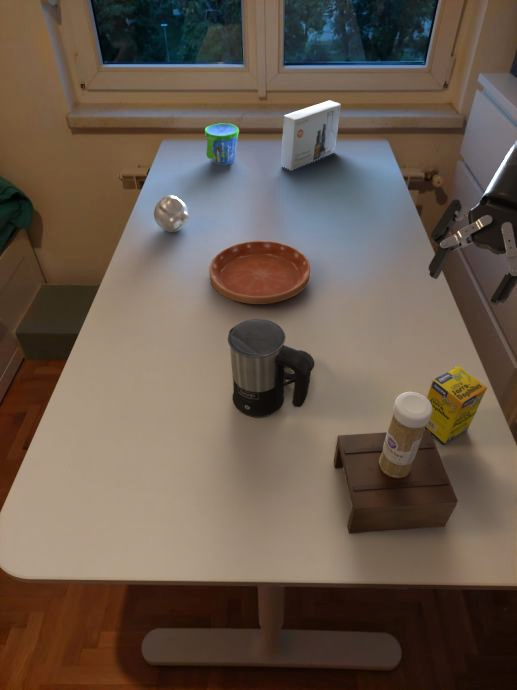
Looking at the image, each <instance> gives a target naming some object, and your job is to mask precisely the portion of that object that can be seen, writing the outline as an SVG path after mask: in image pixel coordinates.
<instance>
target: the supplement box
mask: <svg viewBox="0 0 517 690" xmlns="http://www.w3.org/2000/svg"><path fill="white" fill-rule="evenodd" d="M487 389H488V387H487V386H486V385H485V384H483V383H482V382H481V381H480V380H478V379H477V378H475V377H474V376H473V375H471V374H470V373H469V372H468V371H466V370H465V369H464V368H462V367H461V366H460V365H456V366H455V367H453V368H452V369H450V370H449V371H446V372H445V373H442V374H441V375H439V376H437V377H435V378H434V379H432V382H431V384H430V388H429V390H428V393H427V396H426V398H427V399H428V400H429V401H430V403H431V405H432V414H431V417H430V420H429V422H428V423H427V424H426V426H425V429H424V430H430V432H431V435H432V437H433V439H434V440H436V441H437V442H439V444H441V446H442V447H443V446H444V447H445V446H446V445H448V444H450V443H451V441H453V440H455V439H457V438H458V437H459V436H461V435H463V434H464V433H466V432H467V431H469V428H470V426H471V424H472V422H473V419H474V418H475V415H476V413H477V411H478V409H479V406H480V404H481V403H482V399H483V398H484V395H485V393H486V391H487Z"/></svg>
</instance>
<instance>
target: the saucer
mask: <svg viewBox="0 0 517 690" xmlns="http://www.w3.org/2000/svg"><path fill="white" fill-rule="evenodd" d="M208 268H209V269H208V273H209V280H210V283H211V284H212V286H213V288H214V290H216V291H217V292H218V293H219V294H221V295H222V296H223V297H225V298H228V299H229V300H232V301H235V302H239V303H243V304H249V305H251V304H252V305H267V304H274V303H279V302H282V301H286V300H288V299H291V298H293V297H294V296H296V295H298V294H299V293H300V292H302V291H303V290H304V289H305V288H306V286H307V285H308V283H309V281H310V276H311V264H310V261H309V259H308V258H307V257H306V255H305V254H304V253H303V252H301V251H300V250H298V249H297V248H295V247H293V246H291V245H288V244H285V243H281V242H277V241H271V240H254V241H253V240H252V241H246V242H241V243H237V244H234V245H231V246H228V247H226V248H224V249H223V250H221V251H220V252H219V253H217V254H216V255H215V256H214V257H213V259H212V260H211V261H210V264H209V267H208Z"/></svg>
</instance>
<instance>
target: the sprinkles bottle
mask: <svg viewBox="0 0 517 690" xmlns="http://www.w3.org/2000/svg"><path fill="white" fill-rule="evenodd" d="M431 414H432V405H431V403H430V401H429V400H428V399H427V396H425V395H423V394H422V393H418V392H415V391H405V392H402V393H400V394H398V395H397V397H396V399H395V401H394V404H393V407H392V416H391V419H390V423H389V426H388V431H387V435H386V438H385V442H384V445H383V451H382V454H381V456H380V458H379V465H380V468H381V470H382V471H383V472H384V473H385V474H386V475H388V476H390V477H393V478H402V477H405V476H407V475H408V474H409V473H410V471H411V465H412V463H413V460H414V458H415V456H416V453H417V450H418V447H419V444H420V442H421V439H422V436H423V432H424V430H425V426H426V424H427V423H428V422H429V420H430V417H431Z"/></svg>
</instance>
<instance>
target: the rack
mask: <svg viewBox="0 0 517 690" xmlns="http://www.w3.org/2000/svg"><path fill="white" fill-rule="evenodd" d="M387 432H388V431H387ZM387 432H386V431H385V432H370V433H369V432H368V433H351V434H340V435H339V434H338V435H337V439H336V444H335V451H334V455H333V456H334V457H333V466H334V469H343V473H344V477H345V481H346V485H347V490H348V494H349V499H350V503H351V508H350V512H349V516H348V521H347V525H346V527H347V532H348V534H349V535H350V534H362V533H364V534H365V533H377V532H378V533H379V532H390V531H404V530H405V531H406V530H416V529H417V530H419V529H431V528H432V529H433V528H445V527H447V525H448V522H449V521H450V518H451V517H452V515H453V512H454V511H455V508H456V507H457V505H458V503H459V500H458V498H457V495H456V492H455V490H454V488H453V486H452V482H451V481H450V478H449V474H448V472H447V470H446V467H445V465H444V462H443V460H442V457H441V455H440V452H439V450H438V447H437V445H436V442H435V439H434V437H433V436H432V435H431V432H430V430H425V429H424V432H423V436H422V439H421V442H420V444H419V447H418V450H417V453H416V456H415V458H414V460H413V463H412V465H411V471H410V473H409V474H408V475H407V476H405V477H402V478H393V477H390V476H388V475H386V474H385V473H384V472H383V471H382V470H381V468H380V465H379V458H380V456H381V454H382V451H383V445H384V442H385V438H386V435H387Z"/></svg>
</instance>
